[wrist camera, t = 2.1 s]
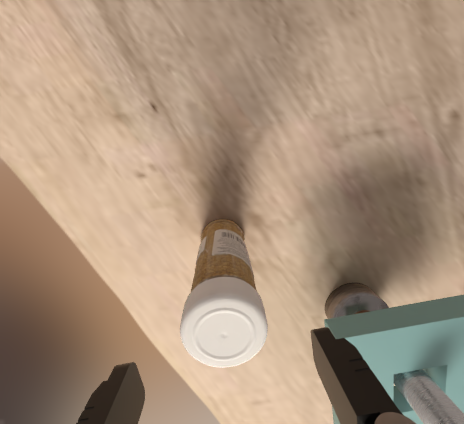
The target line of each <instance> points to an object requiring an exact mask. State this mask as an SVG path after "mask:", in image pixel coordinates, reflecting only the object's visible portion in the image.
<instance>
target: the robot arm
mask: <svg viewBox="0 0 464 424" xmlns="http://www.w3.org/2000/svg"><path fill="white" fill-rule="evenodd" d="M311 339H312V348H313V356H314V361H315V365H316V368H317V371H318V374H319V376H320V378H321V381H322V383H323V385H324V388H325V390H326V392H327V394H328V397H329V399H330V401H331V404H332V406H333V408H334V410H335V413H336V415H337V417H338V420H339V422H340V424H416V423H415V422H414V421H412V420H411V419H409V418H408V417H406V416H404V415H403V414H402V413H401V412H400V410H399V409H398V408H397V406H396V405H395V403H394V402H393V400H392V399H391V397H390V396H389V395H388V393H387V392H386V390H385V389H384V387H383V386H382V384H381V383H380V382H379V380H378V379H377V377H376V376H375V374H374V373H373V371H372V370H370V367H369V366H368V364H367V363H366V361H365V360H364V359H363V357H362V355H361V354H360V353H359V351H358V350H357V348H356V347H355V346H354V345H353V344H351V343H350V342H349V341H348V340H346V339H345V338H340V339H335V337H334V335H333V334H332V332H331V331H330V329H329V328H328V327H325V328H319V329H314V330H311ZM144 400H145V390H144V386H143V383H142V380H141V378H140V374H139V372H138V369H137V366H136V364H135V363H134V362H132V363H126V364H122V365H116V366H115V367H114V369H113V371H112V373H111V375H110V377H109V379H108V381H103V382H102V383H101V384H100V386H99V387H98V388H97V389H96V390H95V391H94V393H93V394H92V395H91V397H90V399H89V401H88V403H87V404H86V406H85V410H84V411H83V412H82V414H81V416H80V417H79V420H78V423H76V424H138V421H139V418H140V415H141V411H142V409H143V405H144Z"/></svg>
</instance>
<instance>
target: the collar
mask: <svg viewBox="0 0 464 424" xmlns="http://www.w3.org/2000/svg"><path fill="white" fill-rule="evenodd" d="M324 321H325V327H328V328H329V329H330V331H331V332H332V334H333V335H334V337H335V339H340V338H345V339H346V340H348V341H349V342H350V343H351V344H353V345H354V346H355V347H356V348H357V350H358V351H359V353H360V354H361V355H362V357H363V359H364V360H365V361H366V363H367V364H368V366H369V367H370V370H372V371H373V373H374V374H375V376H376V377H377V379H378V380H379V382H380V383H381V384H382V386H383V387H384V389H385V390H386V392H387V393H388V395H389V396H390V397H391V399H392V400H393V402H394V403H395V405H396V406H397V408H398V409H399V410H400V412H401V413H402V414H403V415H404V416H406V417H408V418H409V419H411V420H412V421H414V422H415V423H416V424H424V423H423V422H422V421H421V419H420V418H419V417H418V415H417V414H416V413H415V411H414V410H413V408H412V407H411V406H410V404H409V403H408V402H407V400H406V399H405V398H404V396H403V395H402V394H401V392H400V391H399V389H398V388H397V387H396V386H394V374H398V373H404V372H409V371H415V370H421V369H424V371H425V372H426V373H427V374H428V375H429V376H430V377H431V378H432V379H433V381H434V382H435V383H436V384H437V385H438V386H439V387H440V388H441V389H442V390H443V391H444V393H445V394H446V395H447V396H448V397H449V398H450V399H451V400H452V401H453V402H454V403H455V405H456V406H457V407H458V408H459V409H460V410H461V411H462V412H463V413H464V295H459V296H454V297H448V298H442V299H437V300H431V301H426V302H420V303H414V304H409V305H403V306H398V307H392V308H386V309H381V310H375V311H370V312H364V313H358V314H353V315H347V316H342V317H336V318H330V319H325V320H324ZM332 409H333V420H334V424H340V422H339V420H338V417H337V415H336V413H335V410H334V408H333V406H332Z"/></svg>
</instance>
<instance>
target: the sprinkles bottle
mask: <svg viewBox="0 0 464 424" xmlns="http://www.w3.org/2000/svg"><path fill="white" fill-rule="evenodd" d="M267 329H268V325H267V319H266V315H265V310H264V306H263V303H262V300H261V297H260V295H259V294H258V292H257V290H256V287H255V283H254V275H253V271H252V267H251V263H250V259H249V255H248V251H247V248H246V245H245V242H244V234H243V231H242V230H241V228H240V227H239V226H238V225H237V224H235V223H234V222H233V221H230V220H226V219H220V220H215V221H212V222H211V223H209V224H208V225H207V226H206V227H205V229H204V230H203V232H202V235H201V244H200V247H199V251H198V256H197V261H196V269H195V275H194V279H193V284H192V289H191V293H190V294H189V296H188V297H187V300H186V302H185V305H184V309H183V314H182V319H181V326H180V335H181V340H182V343H183V345H184V347H185V349H186V350H187V351H188V353H189V354H190V355H191V356H192V357H194V358H195V359H196V360H198V361H200V362H201V363H203V364H206V365H209V366H213V367H232V366H237V365H240V364H242V363H245V362H247V361H248V360H250V359H251V358H252V357H254V356H255V355H256V354H257V353H258V352H259V351H260V349H261V348H262V346H263V345H264V343H265V340H266V337H267Z"/></svg>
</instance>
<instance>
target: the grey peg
mask: <svg viewBox="0 0 464 424" xmlns="http://www.w3.org/2000/svg"><path fill="white" fill-rule="evenodd" d="M386 308H389V307H388V306H387V304H386V303H385V302H384V301H383V300H382V299H381V298H380V297H379V296H378V295H376V294H375V293H374V292H373V291H372V290H371V289H370V288H369V287H367V286H366V285H363V284H360V283H349V284H345V285H343V286H340V287H339V288H337V289H336V290H334V291H333V292H332V293H331V295H330V296H329V297H328V299H327V301H326V305H325V313H326V316H327V318H328V319H330V318H336V317H342V316H347V315H353V314H358V313H364V312H370V311H375V310H381V309H386ZM394 384H395V385H396V387H397V388H398V389H399V391H400V392H401V394H402V395H403V396H404V398H405V399H406V400H407V402H408V403H409V404H410V406H411V407H412V408H413V410H414V411H415V413H416V414H417V415H418V417H419V418H420V419H421V421H422V422H423V423H424V424H464V413H463V412H462V411H461V410H460V409H459V408H458V407H457V406H456V405H455V403H454V402H453V401H452V400H451V399H450V398H449V397H448V396H447V395H446V394H445V393H444V391H443V390H442V389H441V388H440V387H439V386H438V385H437V384H436V383H435V382H434V381H433V379H432V378H431V377H430V376H429V375H428V374H427V373H426V372H425V371H424V370H423V369H421V370H415V371H409V372H404V373H398V374H394Z"/></svg>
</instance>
